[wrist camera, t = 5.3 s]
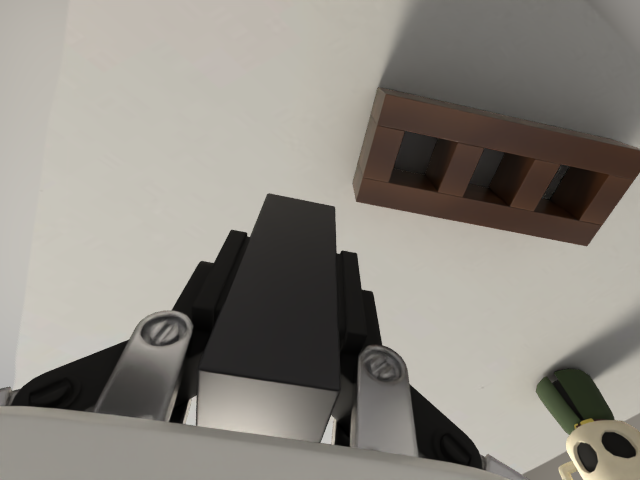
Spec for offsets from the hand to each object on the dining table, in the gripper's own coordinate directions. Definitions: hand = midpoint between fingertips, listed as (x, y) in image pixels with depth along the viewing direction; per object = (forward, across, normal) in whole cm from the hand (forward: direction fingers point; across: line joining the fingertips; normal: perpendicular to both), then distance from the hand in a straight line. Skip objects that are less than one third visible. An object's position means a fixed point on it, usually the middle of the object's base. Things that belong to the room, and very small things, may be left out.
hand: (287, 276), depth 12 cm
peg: (+4, 0, 0) cm, 4 cm away
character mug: (+18, -36, +22) cm, 46 cm away
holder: (+18, -14, -2) cm, 23 cm away
